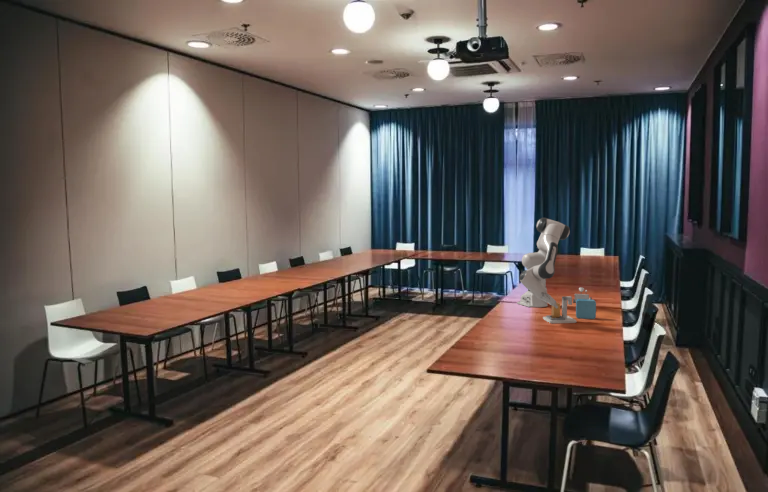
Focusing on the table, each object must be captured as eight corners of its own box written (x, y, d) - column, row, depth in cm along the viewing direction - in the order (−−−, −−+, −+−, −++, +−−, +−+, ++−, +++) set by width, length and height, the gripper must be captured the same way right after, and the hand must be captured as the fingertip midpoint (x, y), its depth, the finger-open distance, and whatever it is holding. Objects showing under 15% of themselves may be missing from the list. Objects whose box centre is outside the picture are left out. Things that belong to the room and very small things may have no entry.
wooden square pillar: (553, 319, 354) (553, 303, 353) (551, 317, 358) (551, 302, 357) (559, 319, 354) (560, 303, 353) (557, 317, 358) (557, 302, 357)
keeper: (549, 323, 349) (550, 299, 348) (542, 318, 362) (543, 295, 361) (576, 322, 350) (576, 298, 349) (568, 318, 363) (568, 294, 362)
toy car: (576, 286, 428) (592, 287, 423) (576, 299, 429) (591, 300, 424) (573, 290, 412) (589, 291, 407) (573, 303, 413) (589, 304, 408)
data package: (595, 317, 363) (595, 299, 362) (595, 319, 359) (596, 300, 358) (575, 316, 367) (576, 298, 366) (576, 318, 363) (576, 300, 361)
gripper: (548, 290, 343) (564, 305, 345) (537, 285, 363) (552, 299, 365) (541, 297, 343) (557, 313, 345) (531, 292, 364) (545, 306, 365)
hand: (554, 306), depth 355 cm, fingers open, 8 cm apart
